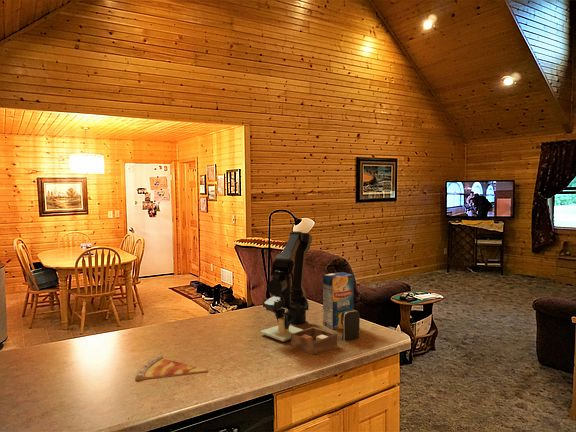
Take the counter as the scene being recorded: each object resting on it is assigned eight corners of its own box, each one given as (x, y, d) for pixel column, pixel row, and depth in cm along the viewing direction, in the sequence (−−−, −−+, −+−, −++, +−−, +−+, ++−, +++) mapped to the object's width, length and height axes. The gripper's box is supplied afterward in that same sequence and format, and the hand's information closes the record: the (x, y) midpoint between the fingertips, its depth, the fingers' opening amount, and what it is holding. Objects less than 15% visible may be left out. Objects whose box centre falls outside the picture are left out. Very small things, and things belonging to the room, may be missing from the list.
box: (290, 347, 160) (290, 334, 160) (312, 339, 169) (313, 326, 168) (315, 357, 152) (315, 342, 151) (337, 347, 160) (337, 334, 160)
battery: (354, 336, 172) (354, 308, 171) (359, 339, 168) (360, 310, 168) (339, 339, 169) (339, 310, 168) (345, 342, 165) (345, 313, 164)
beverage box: (322, 326, 184) (322, 274, 182) (343, 322, 190) (343, 271, 188) (332, 331, 178) (332, 277, 177) (353, 326, 184) (353, 274, 182)
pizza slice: (173, 393, 126) (173, 386, 126) (120, 377, 137) (120, 370, 137) (208, 372, 140) (208, 366, 140) (157, 359, 151) (157, 353, 151)
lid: (260, 333, 171) (260, 318, 171) (284, 325, 180) (284, 311, 180) (283, 341, 162) (283, 326, 162) (307, 333, 171) (307, 318, 171)
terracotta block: (298, 346, 160) (298, 336, 160) (305, 343, 163) (305, 334, 162) (305, 348, 158) (305, 339, 157) (312, 346, 160) (312, 336, 160)
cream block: (315, 346, 160) (315, 336, 160) (322, 343, 162) (322, 334, 162) (323, 348, 158) (323, 339, 157) (329, 346, 160) (329, 336, 160)
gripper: (252, 288, 171) (252, 327, 172) (285, 297, 158) (285, 339, 159) (273, 283, 179) (273, 320, 180) (306, 291, 166) (306, 331, 167)
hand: (283, 328), depth 171 cm, fingers closed on lid, 3 cm apart
